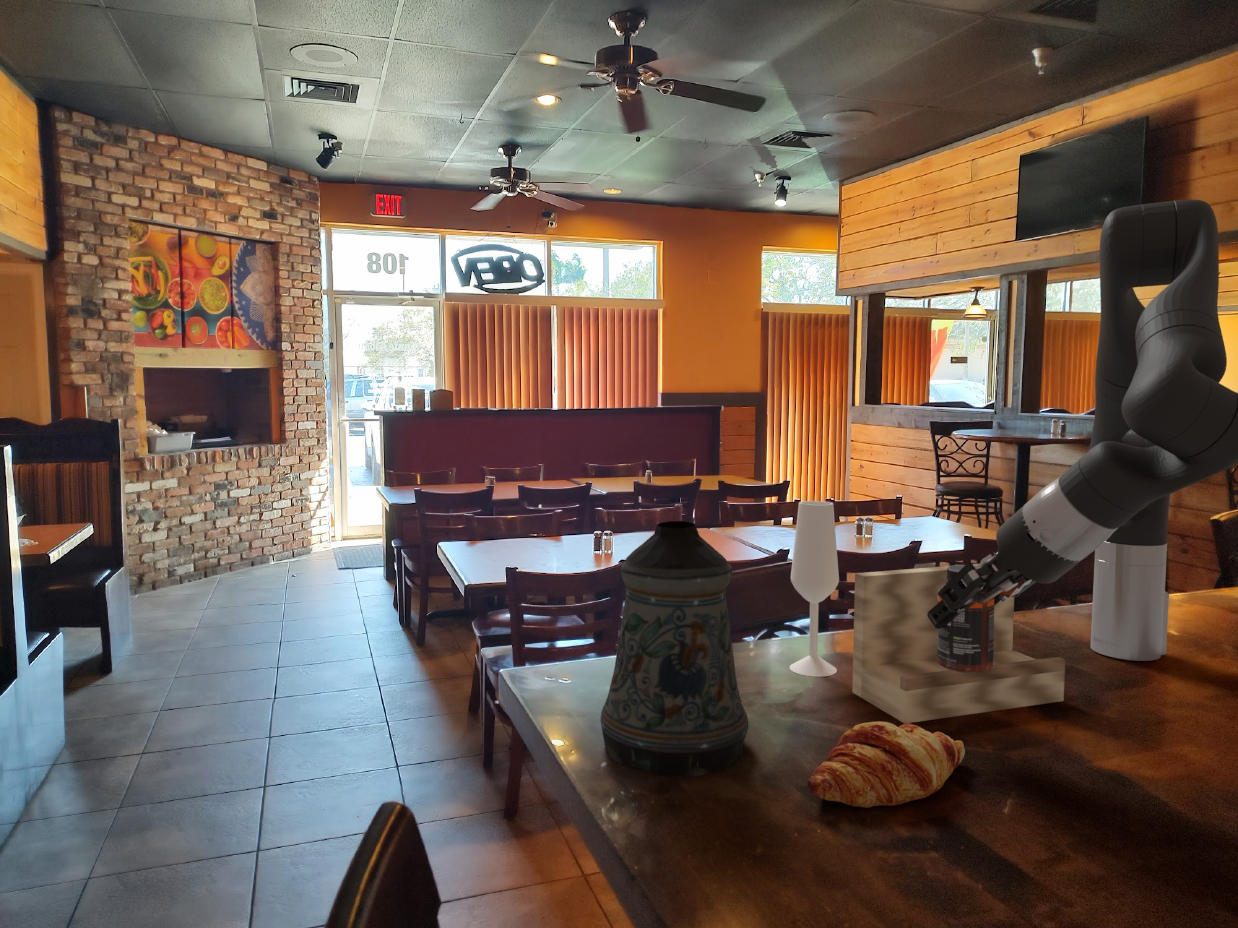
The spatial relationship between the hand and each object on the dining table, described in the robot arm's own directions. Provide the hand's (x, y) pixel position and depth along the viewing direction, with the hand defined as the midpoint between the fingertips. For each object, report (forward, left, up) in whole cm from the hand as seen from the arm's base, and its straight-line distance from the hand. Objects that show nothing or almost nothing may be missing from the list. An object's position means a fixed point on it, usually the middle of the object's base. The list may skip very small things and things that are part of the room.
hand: (952, 616), depth 96 cm
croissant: (+14, +9, -14) cm, 22 cm away
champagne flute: (+3, -25, -14) cm, 29 cm away
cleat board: (-9, -10, -14) cm, 19 cm away
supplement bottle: (-1, +2, -6) cm, 6 cm away
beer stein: (+31, -9, -14) cm, 35 cm away
